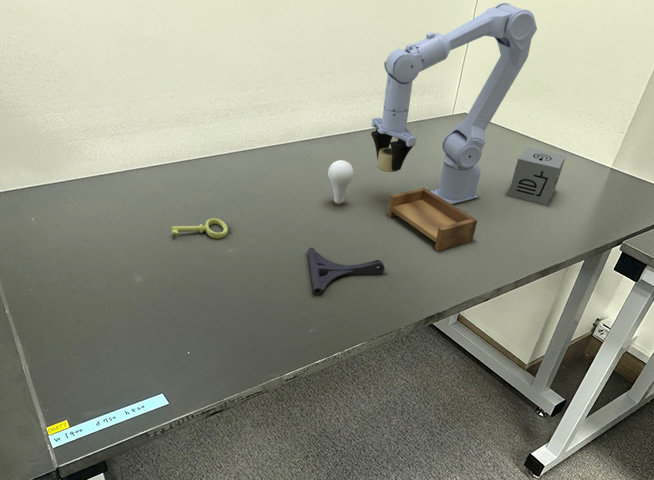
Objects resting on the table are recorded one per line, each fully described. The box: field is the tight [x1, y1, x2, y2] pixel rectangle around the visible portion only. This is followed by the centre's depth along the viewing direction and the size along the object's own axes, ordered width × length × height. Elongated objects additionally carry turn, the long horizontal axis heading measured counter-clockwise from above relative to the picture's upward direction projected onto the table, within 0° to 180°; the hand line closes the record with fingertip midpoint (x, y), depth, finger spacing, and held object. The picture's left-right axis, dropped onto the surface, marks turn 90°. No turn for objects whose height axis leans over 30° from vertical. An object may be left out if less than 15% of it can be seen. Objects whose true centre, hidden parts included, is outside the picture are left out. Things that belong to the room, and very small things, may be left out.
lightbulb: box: [327, 159, 355, 205], centre depth 128 cm, size 6×6×11 cm
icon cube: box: [507, 146, 567, 206], centre depth 138 cm, size 10×10×10 cm
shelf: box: [387, 187, 478, 252], centre depth 122 cm, size 10×18×5 cm, turn 31°
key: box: [170, 217, 229, 239], centre depth 116 cm, size 7×12×2 cm, turn 126°
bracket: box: [307, 247, 385, 296], centre depth 106 cm, size 14×15×3 cm
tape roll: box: [376, 147, 399, 173], centre depth 128 cm, size 5×5×4 cm
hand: (388, 165), depth 129 cm, fingers closed on tape roll, 5 cm apart
